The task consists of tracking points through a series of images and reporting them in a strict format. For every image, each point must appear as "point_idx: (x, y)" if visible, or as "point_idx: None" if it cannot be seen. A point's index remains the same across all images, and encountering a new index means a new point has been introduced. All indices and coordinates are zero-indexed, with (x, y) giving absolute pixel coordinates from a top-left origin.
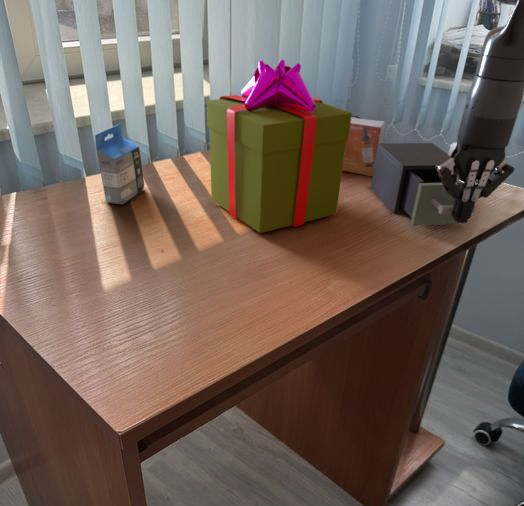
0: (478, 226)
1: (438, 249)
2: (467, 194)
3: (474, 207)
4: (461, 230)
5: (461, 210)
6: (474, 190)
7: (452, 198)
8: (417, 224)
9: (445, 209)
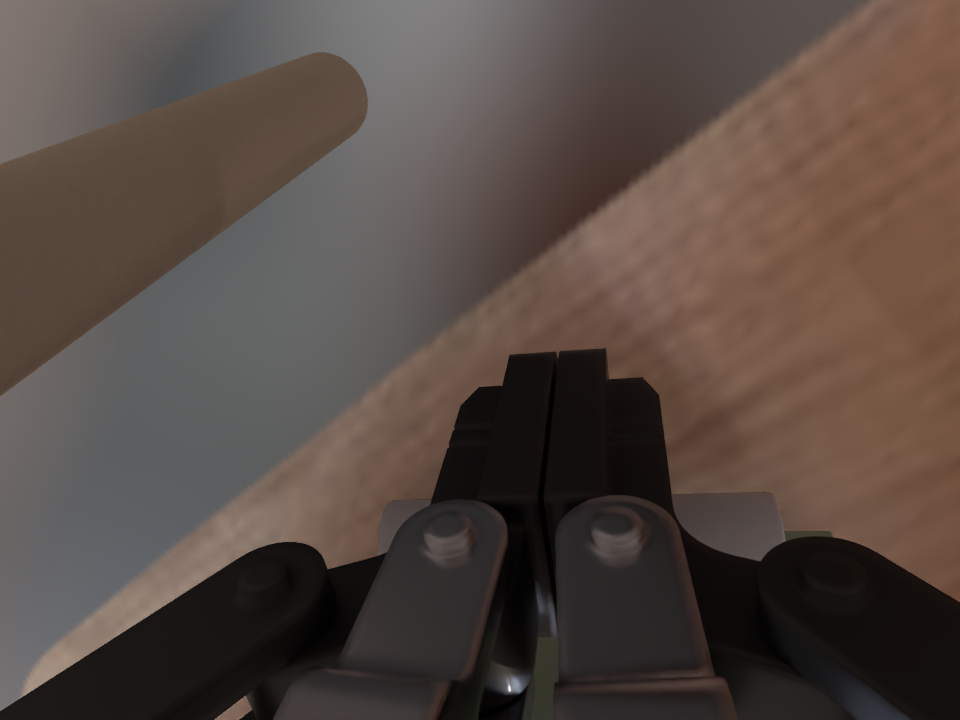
0: (296, 528)
1: (753, 188)
2: (601, 587)
3: (385, 537)
4: (430, 485)
5: (606, 436)
6: (479, 643)
7: (531, 718)
8: (793, 535)
9: (737, 523)
